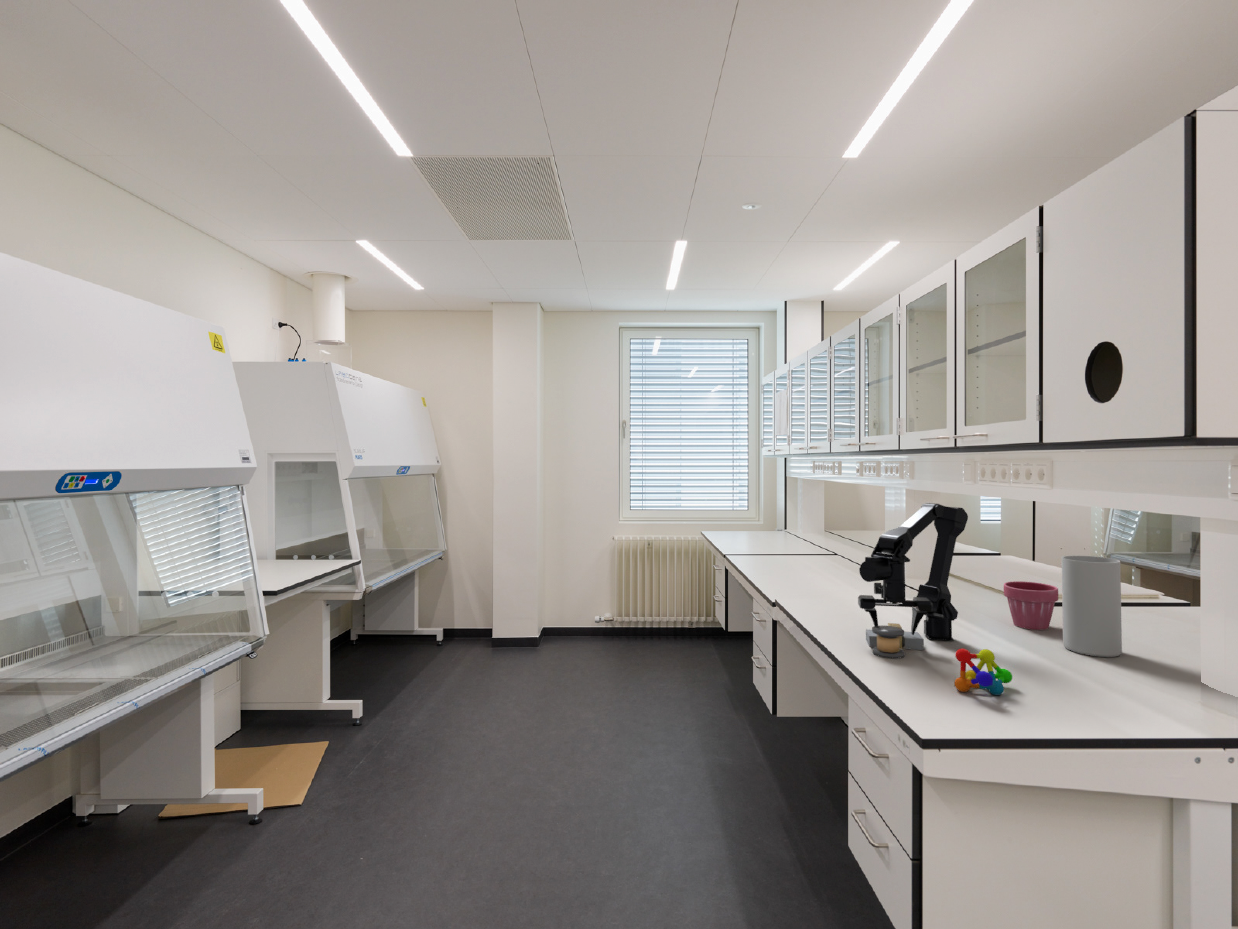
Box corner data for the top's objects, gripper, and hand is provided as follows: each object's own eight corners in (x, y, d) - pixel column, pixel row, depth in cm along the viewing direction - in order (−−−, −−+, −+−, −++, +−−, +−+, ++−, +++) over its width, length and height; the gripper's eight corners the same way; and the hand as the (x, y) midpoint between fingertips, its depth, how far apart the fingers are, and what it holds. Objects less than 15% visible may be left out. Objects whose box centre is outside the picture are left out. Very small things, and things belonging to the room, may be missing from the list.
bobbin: (901, 650, 163) (900, 626, 163) (907, 659, 155) (907, 634, 155) (870, 648, 165) (869, 624, 165) (874, 657, 157) (874, 632, 157)
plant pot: (1044, 635, 175) (1043, 592, 175) (994, 624, 187) (994, 584, 187) (1068, 628, 182) (1067, 586, 182) (1019, 618, 194) (1018, 579, 194)
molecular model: (1019, 715, 129) (983, 683, 125) (972, 709, 138) (937, 679, 133) (1023, 667, 135) (989, 634, 130) (978, 664, 143) (944, 633, 138)
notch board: (917, 642, 169) (917, 632, 169) (923, 650, 163) (923, 639, 163) (865, 639, 173) (865, 629, 173) (869, 646, 166) (869, 636, 166)
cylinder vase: (1134, 656, 155) (1132, 561, 155) (1096, 660, 153) (1094, 563, 153) (1087, 642, 167) (1086, 554, 167) (1051, 645, 165) (1050, 556, 165)
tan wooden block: (899, 644, 168) (899, 623, 168) (902, 649, 164) (901, 627, 164) (888, 644, 169) (887, 623, 169) (890, 648, 165) (890, 626, 165)
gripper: (923, 574, 172) (924, 627, 172) (855, 572, 177) (856, 624, 177) (933, 581, 161) (933, 638, 161) (860, 579, 166) (861, 634, 166)
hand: (894, 633), depth 166 cm, fingers open, 9 cm apart
